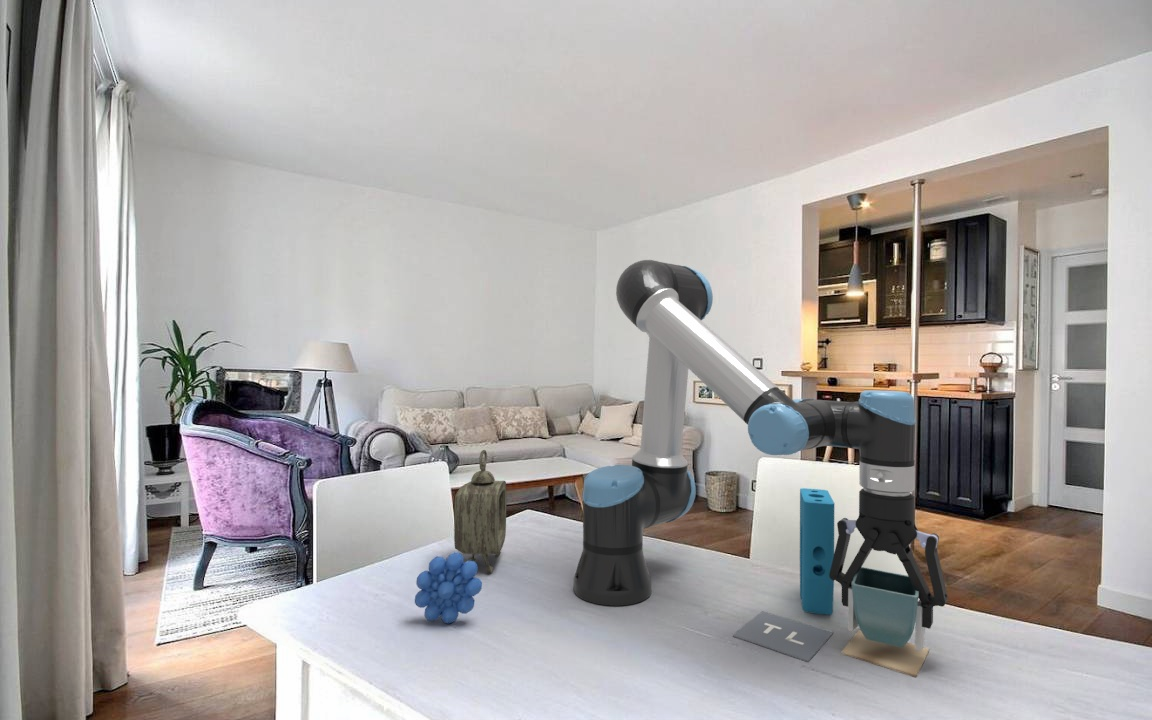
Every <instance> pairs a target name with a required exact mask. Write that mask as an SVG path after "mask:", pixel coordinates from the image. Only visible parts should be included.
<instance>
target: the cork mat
mask: <svg viewBox="0 0 1152 720" xmlns="http://www.w3.org/2000/svg"><path fill="white" fill-rule="evenodd" d="M929 652H930V647H929V648H927V647H923V649H922V651H918V650H915V643H911V642H909V641H908V642H907V643H906V645H905V646H904V647H896V646H892V645H888V644H884V643H880V642H876V641H872V640H868V639H866V638H865V636H864V635H863V633H862V631H861V630H860V628H859V629H858V630H857V632H856V633H854V635H853V636H852V638H851V639H850V640H849V641H848V643H847V644H846V645H845V646H844V648H843V649H842V650H841V654H843V655H845V656H848V657H851V658H855V659H858V660H860V661H861V660H862V661H864V662H867V663H870V664H873V665H877V666H879V667H883V668H886V669H889V670H892V671H895V672H898V673H900V674H901V673H902V674H904V675H907V676H911V677H914V678H917V677H918V675H919V673H920V671H921V668H922V667H923V664H924V663H925V661H926V658H927V656H928V654H929Z"/></svg>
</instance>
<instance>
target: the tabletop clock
mask: <svg viewBox="0 0 1152 720" xmlns="http://www.w3.org/2000/svg"><path fill="white" fill-rule="evenodd" d="M483 456H484V461H483ZM487 463H488V454H487V451H486V449H483V450H481V452H480V454H479V470H478V471H476V472H475V473H474V474H473V475H472V476H471V479H470V481H469V482H467V483H465V484H463V485H462V486H460V488H459V489H458V491H457V492H456V494H455V497H454V511H453V512H454V515H453V517H454V520H453V523H454V524H453V527H454V529H453V532H454V533H453V534H454V537H453V538H454V539H453V540H454V549H455V550H457V551H458V552H459V553H462V554H463V555H471V557H469V558H468V559H467V561H474V562H475V563H477V562H476V558H475V556H476V555H481V556H482V557H483V560H484V561H485V563H486V564H485V565H486V567H485V572H486V573H487V574H491V573H493V571H494V567H493V565H490V561H489V557H488V555H494V556H496V557H498V556H500V555H501V553H502V552H501V551H502V549H503V546H504V543H505V540H506V535H507V534H506V533H507V531H506V530H507V482H506V480H496V479H495V477H494V475H493V473H492V472H490V471H488V470H487V469H486V466H487Z"/></svg>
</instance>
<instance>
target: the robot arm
mask: <svg viewBox="0 0 1152 720" xmlns="http://www.w3.org/2000/svg"><path fill="white" fill-rule="evenodd" d="M615 291H616V293H615V295H616V301H617V304H618V306H619V308H620V310H621V311H622V313H623V314H624V315H625V317H626V318H628V320H629V321H630V322H631V323H632V324H633V325H634V326H636V328H637V329H638V330H640V331H641V332H643V333H646V335H648V338H649V339H648V340H649V341H648V349H647V350H648V353H647V363H646V375H645V388H644V390H645V391H644V397H643V398H644V399H643V410H642V411H643V414H642V424H641V425H642V427H641V436H640V437H641V438H640V448H639V450H638V451H637V452H635V454H633V455H632V459H631V465H628V464H615V465H606V466H601V467H597V468H596V469H595V468H594V469H593V470H591V471H590V472H589V473H587V474H586V476H585V477H584V480H583V491H582V496H581V497H582V498H581V499H582V535H583V536H582V551H581V555H580V558H579V560H578V561H579V562H578V564H577V567H576V569H575V570H576V571H575V574H574V576H573V591H574V593H575V595H577V596H578V597H579V598H581V599H582V600H584V601H586V602H590V603H593V604H598V605H603V606H616V607H617V606H628V605H629V606H630V605H634V604H638V603H640V602H643V601H645V600H647V599H649V597H651V595H652V578H651V577H652V576H651V575H650V573H649V569H648V565H647V561H646V558H645V556H644V555H645V554H644V550H643V546H644V544H643V543H644V542H643V541H644V539H643V538H644V537H643V535H644V532H643V530H644V529H648V528H651V527H655V526H658V525H661V524H665V523H670V522H671V523H672V522H674V521H676V520H677V519H679V518H681V517H683V516H685V514H687V513H688V512H689V511H690V510H691V508H692V507H693V505H694V502H695V499H696V495H697V493H696V491H697V490H696V489H697V488H696V483H695V479H693V477H692V473H691V472H690V471H689V469H688V467H689V466H688V464H689V463H688V461H687V459H686V458H685V457H684V456H683V453H682V449H683V448H682V445H683V437H684V435H683V434H684V425H685V424H684V423H685V412H686V402H687V390H688V389H687V388H688V379H689V370H690V371H691V372H692V373H693V374H694V375H695V377H697V378H698V379H699V380H700V381H701V382H702V383H703V384H704V385H705V386H706V387H708V388H709V390H710V391H712V392H713V393H714V394H715V395H716V396H717V397H718V399H720V400H721V401H722V402H723V403H724V404H725V405H726V406H727V407H728V408H729V409H730V410H731V411H732V412H734V413H735V415H737V416H738V418H740V419H741V420H742V421H743V422H744V423H745V424H746V425H747V433H748V436H749V438H750V440H751V442H750V443H752V445H753V446H754V447H755V448H756V450H758V451H760V452H762V453H763V454H766V455H768V456H769V455H770V456H782V455H784V456H789V455H791V456H792V455H793V454H796V453H798V452H801V451H804V450H805V451H807V450H813V449H816V448H820V447H826V446H827V447H834V448H837V447H838V448H844V449H845V448H846V449H852V450H854V449H857V450H859V451H858V452H859V469H858V470H859V473H858V474H859V475H858V476H859V481H858V482H859V486H860V487H862V488H861V489H860V490H859V492H858V493H859V494H858V499H859V500H858V517H857V519H849V518H847V517H843V518H840V520H838V521H837V524H836V526H837V533H838V536H837V541H836V545H835V547H834V557H833V561H832V565H831V569H830V574H829V577H830V579H832V580H834V581H835V582H837V583H839V585H840V586H841V604H842V606H843V607H847V630H848V631H851V632H854V631H855V629H856V628H857V627H859V625H858V623H857V620H856V616H855V612H854V603H853V593H852V581H853V579H854V576H855V575H856V574H857V573H858V572H859V570H860V569H861V567H863V565H864V563H865V562H866V560H867V559H868V557H869V555H870V553H871V551H872V550H873V551H876V552H883V551H884V552H886V553H888V554H891V555H896V556H897V558H898V560H899V562H900V563H902V565H903V568H904V570H905V572H906V574H907V576H909V578H910V581H911V583H912V585H913V587H914V589H915V591H919V597H918V604H917V612H916V620H915V626H914V629H915V633H914V635H915V636H914V637H915V639H914V642H915V643H914V644H915V650H918V651H922V649H923V647H924V646H925V642H926V641H925V637H926V636H925V634H926V633H925V632H926V631H925V629H931V627H932V625H933V623H934V607H938V606H939V607H945V605H946V603H947V602H948V599H949V596H948V593H947V588H946V583H945V578H944V574H943V570H942V566H941V561H940V556H939V553H938V547H939V540H940V537H939V535H938V534H937V533H931V534H929V533H927V532H922V531H920V530H918V528H917V525H916V523H915V496H914V494H913V493H912V492H914V491H915V490H916V487H915V485H916V481H915V479H916V478H915V477H916V475H915V474H916V468H915V467H916V465H915V454H916V453H915V452H916V451H915V449H916V447H915V446H916V425H917V421H916V414H915V413H916V412H915V411H916V410H915V400H914V397H913V395H912V394H911V393H910V392H907V391H902V390H879V389H878V390H876V389H875V390H873V389H871V390H870V389H869V390H863V391H861V393H860V394H859V396H860V397H859V399H858V401H842V400H840V401H837V400H829V399H828V400H827V399H826V400H825V399H824V400H823V399H815V398H793V399H792V398H791V397H790V396H789V395H787V394H786V393H785V392H784V391H782V390H781V389H780V388H779V387H778V386H777V385H776V384H775V383H774V382H772V380H770V379H769V378H768V377H767V376H766V375H765V374H763V373H762V372H761V371H760V370H759V369H758V368H756V367H755V366H754V365H753V364H752V363H751V362H750V361H748V360H747V359H746V358H745V357H744V356H743V355H741V354H740V353H739V352H738V351H737V350H736V349H735V348H733V347H732V346H731V345H730V344H729V343H727V341H725V340H724V339H723V338H722V337H720V335H718V334H717V333H716V332H715V331H714V330H713V329H711V328H710V327H709V326H708V325H707V324H706V323H704V322H703V320H704V319H706V316H707V315H709V312H711V310H712V306H713V295H714V294H713V289H712V286H711V283H710V282H709V280H708V279H707V278H706V276H705V275H704V274H702V273H701V272H700V271H698V270H696V269H693V268H691V267H689V266H686V265H679V264H674V263H673V264H672V263H667V262H664V261H663V262H662V261H658V260H654V259H653V260H652V259H642V260H639V261H636V262H634V263H632V264H630V265H629V266H627V267H626V268H624V271H622V273H621V274H620V276H619V278H618V281H617V283H616V290H615ZM855 529H857V530H858V533H860V535H861V536H862V538H863V542H862V544H861V546H860V547H859V550H858V551H857V554H856V555H855V556H854V558H853V560H852V561H851V563H850V565H849V567H848V569H847V570H846V572H845V573H843V568H844V565H845V559H846V558H847V557H846V556H847V551H848V548H849V544H850V540H851V535H852V534H853V533H854V532H855ZM915 539H917V540H918V541H919V545H920V547H921V548H922V549H924V554H925V561H926V564H927V569H928V575H929V579H930V583H931V587H932V592H933V594H932V592H931V590H930V588H929V586H928V584H927V582H926V579H925V578H924V575H923V573H922V572H921V569H920V567H919V565H918V563H917V562H916V559H915V556H914V554H913V553H914V552H913V551H912V548H911V546H910V545H911V544H912V542H914V540H915Z"/></svg>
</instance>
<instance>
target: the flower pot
mask: <svg viewBox="0 0 1152 720" xmlns="http://www.w3.org/2000/svg"><path fill="white" fill-rule="evenodd" d="M852 593H853V603H854V612H855V616H856V620H857V623H858V627H859V629H860V630H861V631H862V633H863V635H864V636H865V638H866V639H868V640H872V641H876V642H880V643H884V644H888V645H892V646H896V647H904V646H905V645H906V643H907V642H908V643H909V641H910V639H911V637H912V635H913V632H914V629H915V620H916V612H917V604H918V601H919V591H915V589H914V587H913V585H912V583H911V581H910V578H909V576H908V574H907V575H905V574H901V573H896V572H895V573H894V572H890V571H889V572H888V571H884V570H880V569H874V568H868V567H863V566H862V567H861V569H860V570H859V572H858V573H857V574H856V575H855V576H854V579H853V581H852Z"/></svg>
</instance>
